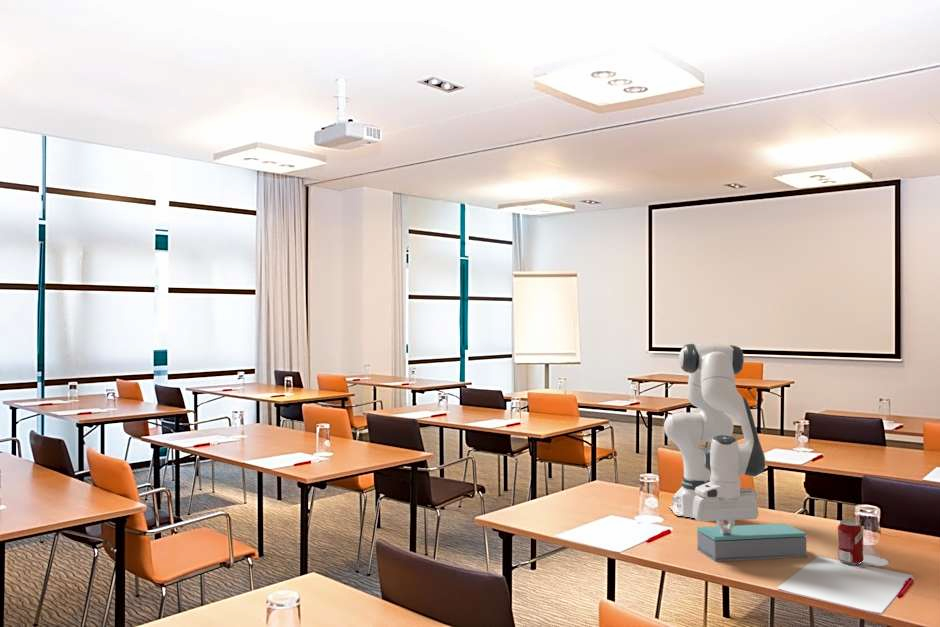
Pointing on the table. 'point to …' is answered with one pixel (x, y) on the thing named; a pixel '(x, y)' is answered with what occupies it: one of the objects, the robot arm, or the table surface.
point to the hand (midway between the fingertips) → (725, 534)
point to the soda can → (850, 542)
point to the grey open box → (752, 548)
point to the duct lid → (753, 532)
